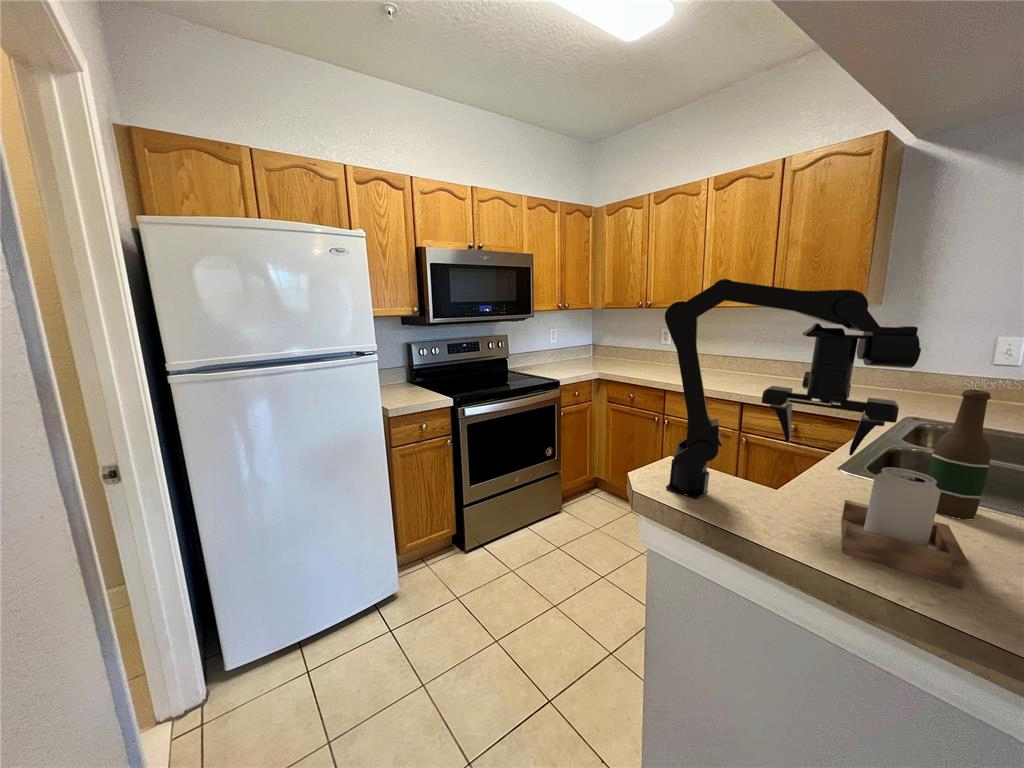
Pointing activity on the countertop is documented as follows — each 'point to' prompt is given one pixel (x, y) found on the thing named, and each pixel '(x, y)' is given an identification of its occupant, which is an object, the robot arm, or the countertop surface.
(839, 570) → the countertop surface
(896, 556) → the brown wooden square tray
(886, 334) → the robot arm
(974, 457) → the beer bottle
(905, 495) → the can
